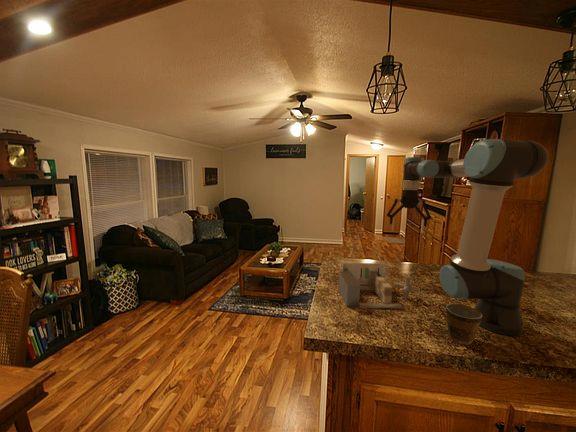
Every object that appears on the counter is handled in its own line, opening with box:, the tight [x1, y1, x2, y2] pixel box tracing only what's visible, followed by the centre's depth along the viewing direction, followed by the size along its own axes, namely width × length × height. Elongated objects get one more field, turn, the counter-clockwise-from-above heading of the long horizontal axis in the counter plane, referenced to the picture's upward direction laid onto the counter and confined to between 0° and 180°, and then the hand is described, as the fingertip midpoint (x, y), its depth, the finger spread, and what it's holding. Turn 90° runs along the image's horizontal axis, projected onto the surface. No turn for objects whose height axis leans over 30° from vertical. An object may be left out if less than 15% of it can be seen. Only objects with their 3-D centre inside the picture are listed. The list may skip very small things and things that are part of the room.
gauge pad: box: [373, 274, 393, 304], centre depth 120 cm, size 15×3×7 cm, turn 1°
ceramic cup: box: [438, 303, 482, 346], centre depth 91 cm, size 13×10×10 cm
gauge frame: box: [338, 262, 402, 309], centre depth 119 cm, size 20×22×12 cm
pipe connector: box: [394, 275, 421, 300], centre depth 118 cm, size 10×10×10 cm
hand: (407, 231), depth 137 cm, fingers open, 13 cm apart
